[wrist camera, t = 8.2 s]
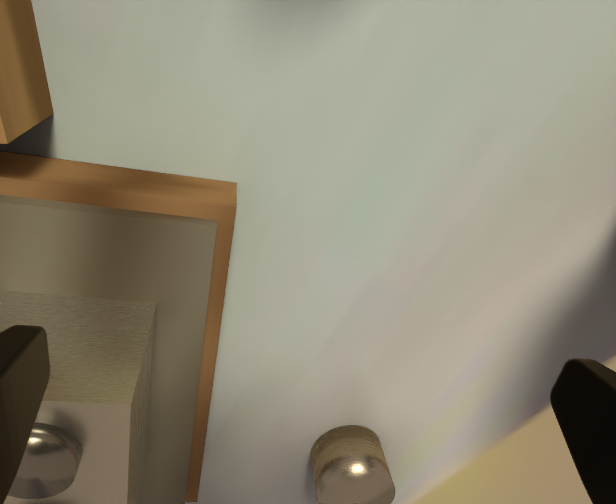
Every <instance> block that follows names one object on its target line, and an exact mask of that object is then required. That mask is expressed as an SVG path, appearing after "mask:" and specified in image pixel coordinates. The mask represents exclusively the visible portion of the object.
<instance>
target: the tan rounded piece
mask: <svg viewBox="0 0 616 504" xmlns="http://www.w3.org/2000/svg"><path fill="white" fill-rule="evenodd" d="M311 461H312V468H313V474H314V480H315V486H316V493H317V499H318V504H391V503H392V501H393V499H394V496H395V487H394V484H393V481H392V478H391V474H390V471H389V468H388V465H387V462H386V459H385V456H384V453H383V449H382V446H381V443H380V440H379V438H378V436H377V435H376V434H375V433H374V432H373V431H372V430H370V429H368V428H366V427H362V426H356V425H348V426H341V427H338V428H334V429H332V430H330V431H328V432H326V433H325V434H323V435H322V436H321V437H319V438H318V439H317V440H316V442H315V443H314V445H313V447H312V449H311Z"/></svg>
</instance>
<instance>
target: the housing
mask: <svg viewBox="0 0 616 504" xmlns="http://www.w3.org/2000/svg"><path fill="white" fill-rule="evenodd" d="M156 306H157V303H149V302H137V301H125V300H113V299H101V298H89V297H78V296H66V295H54V294H42V293H30V292H18V291H6V292H5V293H4V295H3V296H2V297H1V299H0V332H2V331H4V330H6V329H7V328H9V327H11V326H13V325H34V326H41V327H43V328H44V329H45V331H46V334H47V342H48V351H49V360H50V377H49V381H48V385H47V388H46V391H45V394H44V397H43V399H42V402H41V405H40V408H39V411H38V414H37V417H36V420H35V423H34V426H33V429H32V432H31V435H30V438H29V441H28V444H27V447H26V449H25V452H24V455H23V458H22V461H21V464H20V467H19V469H18V472H17V475H16V477H15V479H14V482H13V484H12V486H11V489H10V491H9V493H8V495H7V497H6V499H5V501H4V504H138V500H139V495H140V490H141V484H142V479H143V474H144V469H145V464H146V458H147V451H148V435H149V419H150V403H151V387H152V371H153V354H154V338H155V322H156Z"/></svg>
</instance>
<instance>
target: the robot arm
mask: <svg viewBox="0 0 616 504" xmlns="http://www.w3.org/2000/svg"><path fill="white" fill-rule="evenodd" d="M49 377H50V360H49V351H48V342H47V334H46V331H45V329H44V328H43V327H41V326H34V325H13V326H11V327H9V328H7V329H6V330H4V331H2V332H0V504H4V501H5V499H6V497H7V495H8V493H9V491H10V489H11V486H12V484H13V482H14V479H15V477H16V475H17V472H18V469H19V467H20V464H21V461H22V458H23V455H24V452H25V449H26V447H27V444H28V441H29V438H30V435H31V432H32V429H33V426H34V423H35V420H36V417H37V414H38V411H39V408H40V405H41V402H42V399H43V397H44V394H45V391H46V388H47V385H48V381H49ZM550 401H551V405H552V408H553V410H554V413H555V415H556V418H557V420H558V423H559V425H560V428H561V430H562V433H563V436H564V438H565V441H566V443H567V445H568V448H569V450H570V453H571V456H572V458H573V460H574V463H575V466H576V468H577V471H578V473H579V475H580V477H581V480H582V482H583V484H584V487H585V489H586V490H587V493H588V495H589V497H590V499H591V501H592V503H593V504H616V372H614V371H613V370H611V369H609V368H607V367H605V366H604V365H602V364H600V363H598V362H597V361H594V360H591V359H579V358H573V359H569V360H568V361H567V362H566V363H565V365H564V366H563V368H562V370H561V372H560V374H559V376H558V378H557V380H556V382H555V384H554V386H553V388H552V390H551V394H550Z"/></svg>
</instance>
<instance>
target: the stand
mask: <svg viewBox="0 0 616 504" xmlns="http://www.w3.org/2000/svg"><path fill="white" fill-rule="evenodd" d="M235 214H236V183H232V182H225V181H217V180H210V179H203V178H195V177H188V176H180V175H173V174H166V173H158V172H151V171H143V170H136V169H129V168H121V167H114V166H107V165H99V164H92V163H84V162H77V161H70V160H62V159H55V158H47V157H40V156H33V155H25V154H18V153H10V152H3V151H0V299H1V297H2V296H3V295H4V293H5V292H6V291H18V292H30V293H42V294H54V295H66V296H78V297H89V298H101V299H113V300H125V301H137V302H149V303H157V306H156V322H155V338H154V354H153V371H152V387H151V403H150V419H149V435H148V451H147V458H146V464H145V469H144V474H143V479H142V484H141V490H140V495H139V500H138V504H185V502H197V498H198V490H199V483H200V475H201V468H202V460H203V453H204V445H205V438H206V430H207V423H208V415H209V408H210V400H211V393H212V386H213V378H214V371H215V363H216V356H217V348H218V341H219V333H220V326H221V318H222V311H223V303H224V296H225V288H226V281H227V274H228V266H229V259H230V251H231V244H232V236H233V229H234V221H235Z"/></svg>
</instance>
